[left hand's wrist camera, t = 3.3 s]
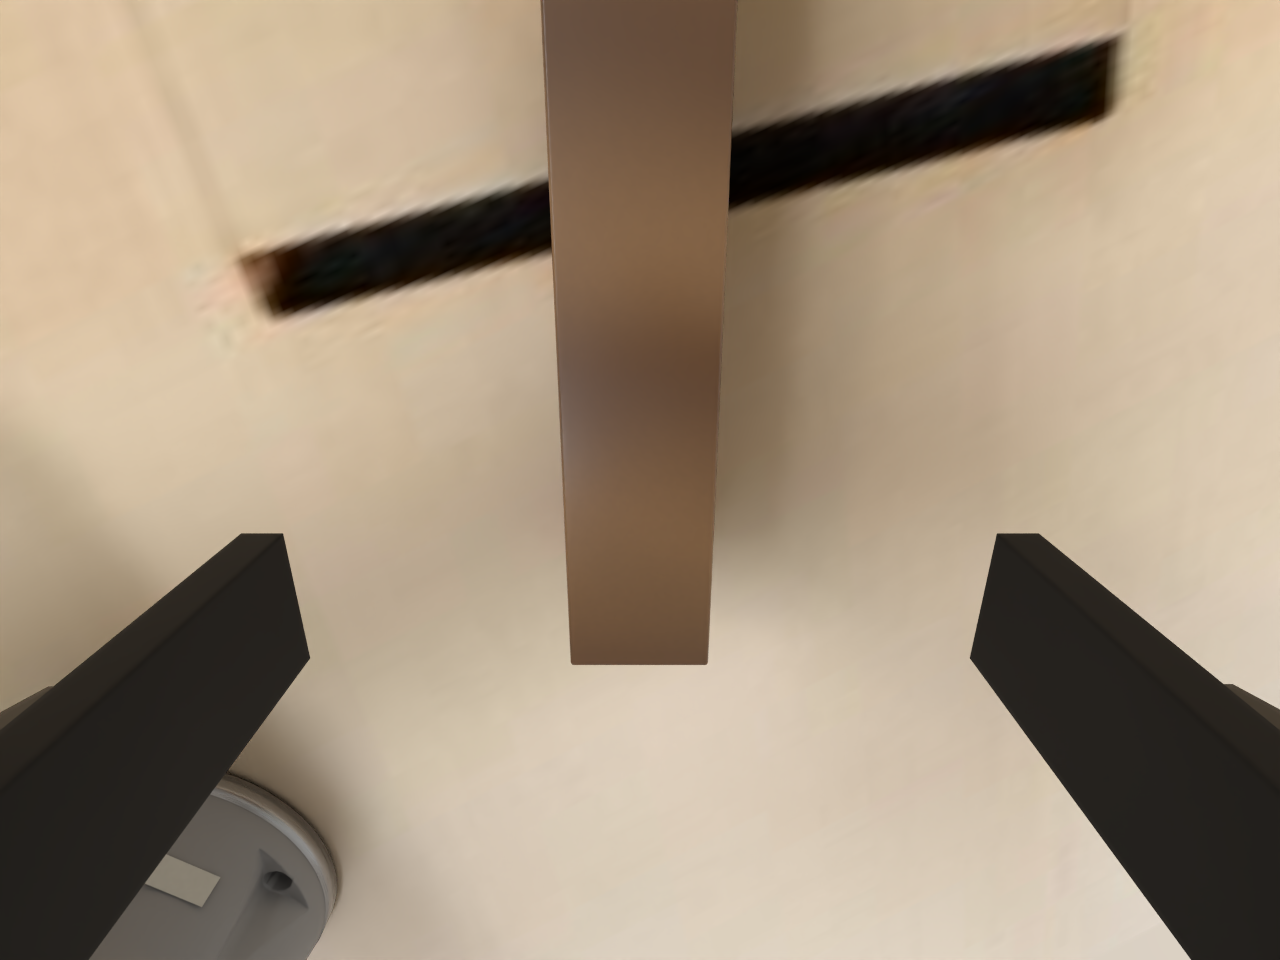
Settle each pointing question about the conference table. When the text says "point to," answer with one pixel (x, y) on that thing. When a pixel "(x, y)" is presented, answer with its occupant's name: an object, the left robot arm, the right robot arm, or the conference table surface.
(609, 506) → the post
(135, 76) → the conference table surface
